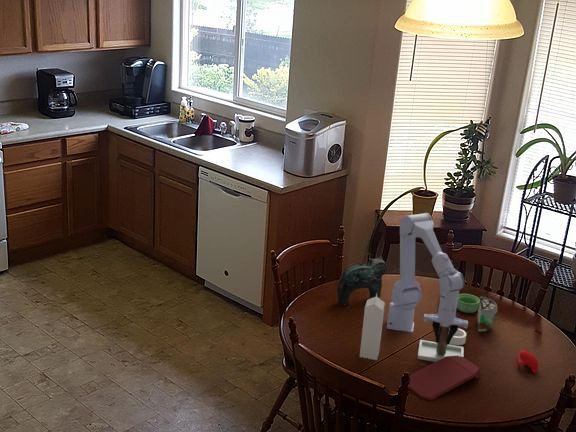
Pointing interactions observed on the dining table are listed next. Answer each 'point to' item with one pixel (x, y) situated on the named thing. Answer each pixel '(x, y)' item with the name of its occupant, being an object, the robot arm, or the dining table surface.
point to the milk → (372, 328)
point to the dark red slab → (442, 376)
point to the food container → (485, 314)
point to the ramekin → (467, 303)
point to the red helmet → (527, 360)
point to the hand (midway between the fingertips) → (442, 342)
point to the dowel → (442, 340)
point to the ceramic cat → (361, 279)
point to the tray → (429, 351)
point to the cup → (458, 337)
